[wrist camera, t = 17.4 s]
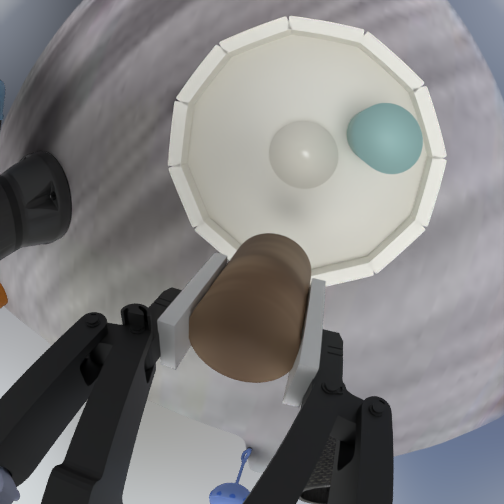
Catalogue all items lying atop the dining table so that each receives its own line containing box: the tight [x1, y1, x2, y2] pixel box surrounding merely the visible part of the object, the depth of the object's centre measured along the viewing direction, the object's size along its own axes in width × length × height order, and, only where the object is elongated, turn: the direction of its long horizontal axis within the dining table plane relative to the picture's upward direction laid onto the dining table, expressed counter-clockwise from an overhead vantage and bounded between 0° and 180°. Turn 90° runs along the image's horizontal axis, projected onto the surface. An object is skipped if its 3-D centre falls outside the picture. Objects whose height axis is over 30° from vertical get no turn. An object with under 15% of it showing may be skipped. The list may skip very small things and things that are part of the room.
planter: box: [299, 436, 336, 504], centre depth 37 cm, size 14×14×13 cm
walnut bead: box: [189, 233, 311, 383], centre depth 15 cm, size 5×5×7 cm
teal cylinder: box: [347, 103, 423, 174], centre depth 20 cm, size 5×5×7 cm
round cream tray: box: [168, 16, 447, 286], centre depth 25 cm, size 26×26×3 cm
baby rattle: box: [209, 448, 252, 504], centre depth 44 cm, size 9×9×18 cm
